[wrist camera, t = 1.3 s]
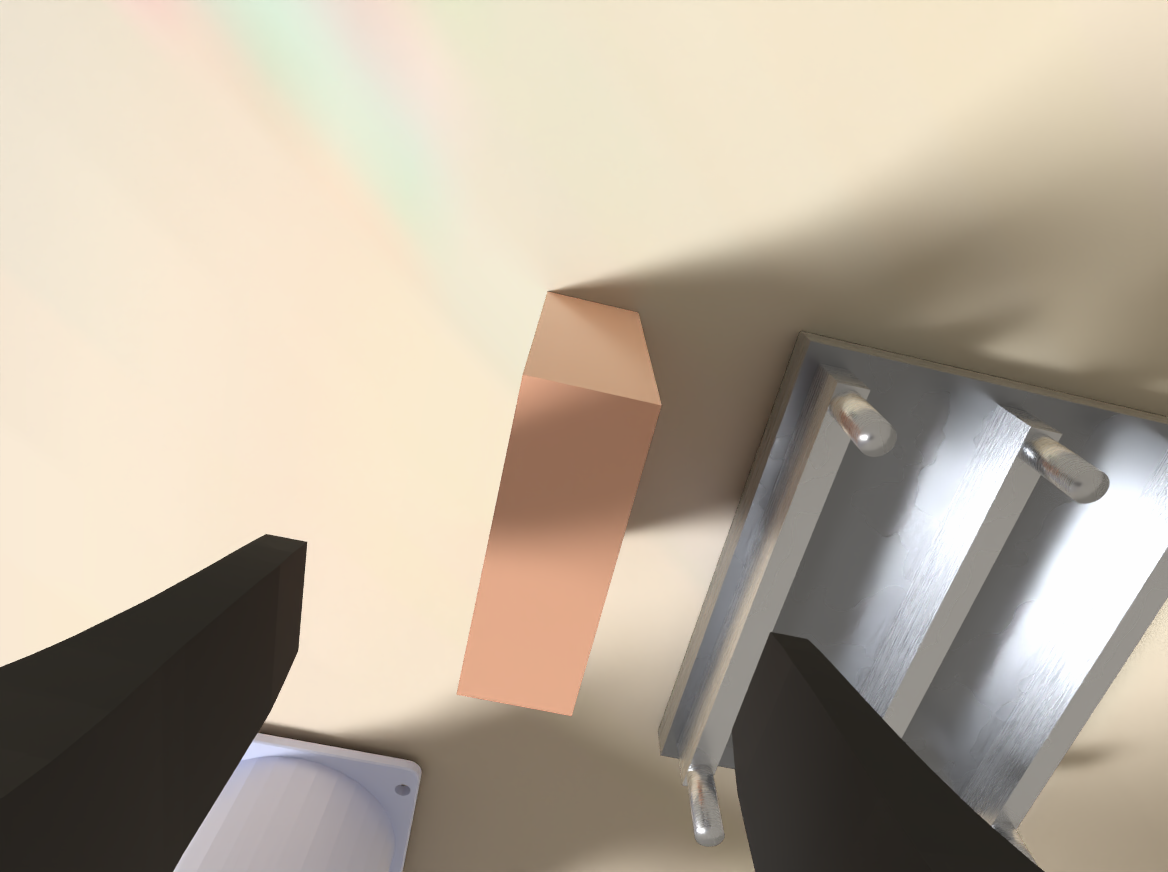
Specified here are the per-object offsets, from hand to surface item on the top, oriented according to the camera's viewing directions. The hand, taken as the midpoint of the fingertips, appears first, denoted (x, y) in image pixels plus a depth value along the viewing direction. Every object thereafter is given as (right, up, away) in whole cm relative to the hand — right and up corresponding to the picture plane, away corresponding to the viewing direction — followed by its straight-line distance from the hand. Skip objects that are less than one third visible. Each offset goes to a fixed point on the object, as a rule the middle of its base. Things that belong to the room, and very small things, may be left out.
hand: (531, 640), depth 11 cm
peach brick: (0, +3, +9) cm, 10 cm away
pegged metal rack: (+10, -2, +11) cm, 15 cm away
